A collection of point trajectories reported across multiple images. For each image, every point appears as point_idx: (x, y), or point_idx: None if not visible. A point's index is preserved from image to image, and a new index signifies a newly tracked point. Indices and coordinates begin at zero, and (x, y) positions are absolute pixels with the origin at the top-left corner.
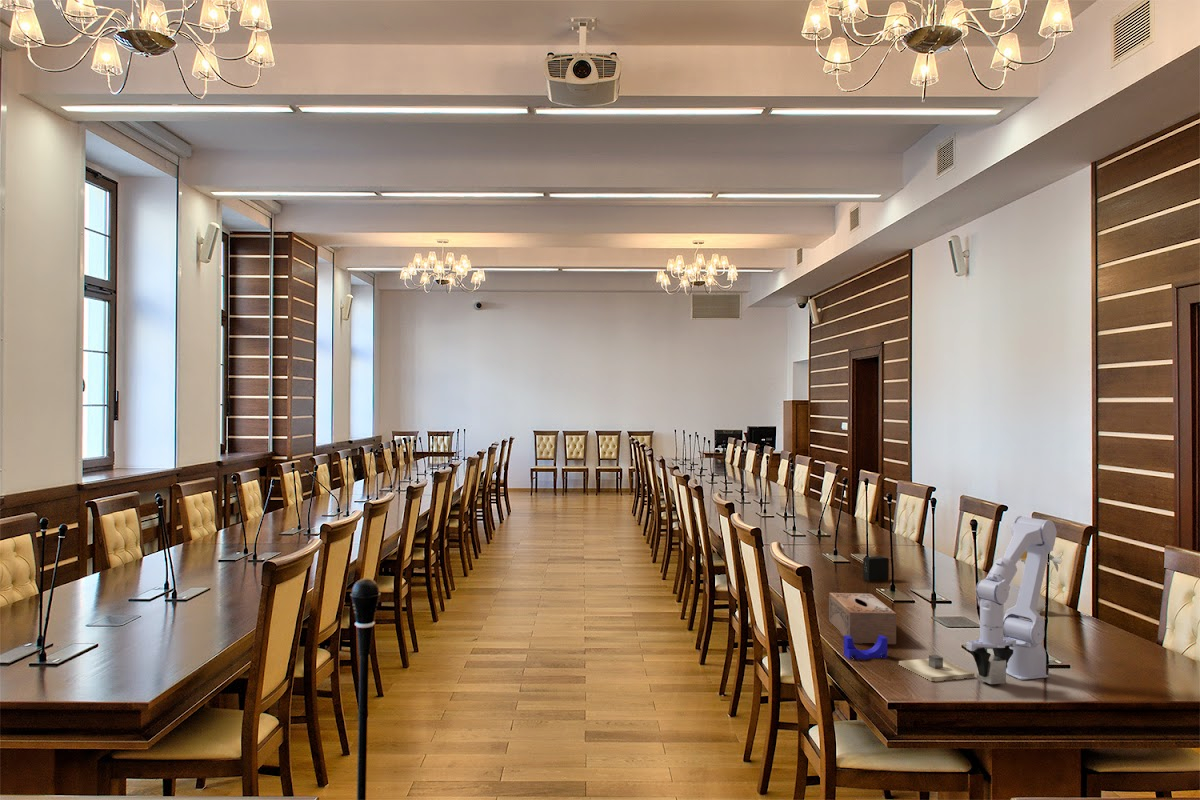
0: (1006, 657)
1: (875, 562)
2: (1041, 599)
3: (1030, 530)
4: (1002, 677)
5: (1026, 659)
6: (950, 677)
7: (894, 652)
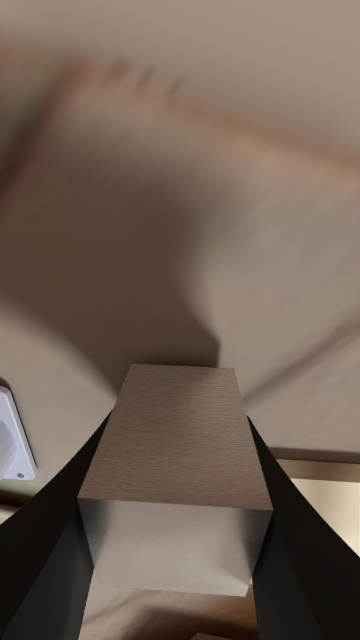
0: (47, 533)
1: None
2: None
3: None
4: (149, 384)
5: None
6: (323, 472)
7: (254, 613)
